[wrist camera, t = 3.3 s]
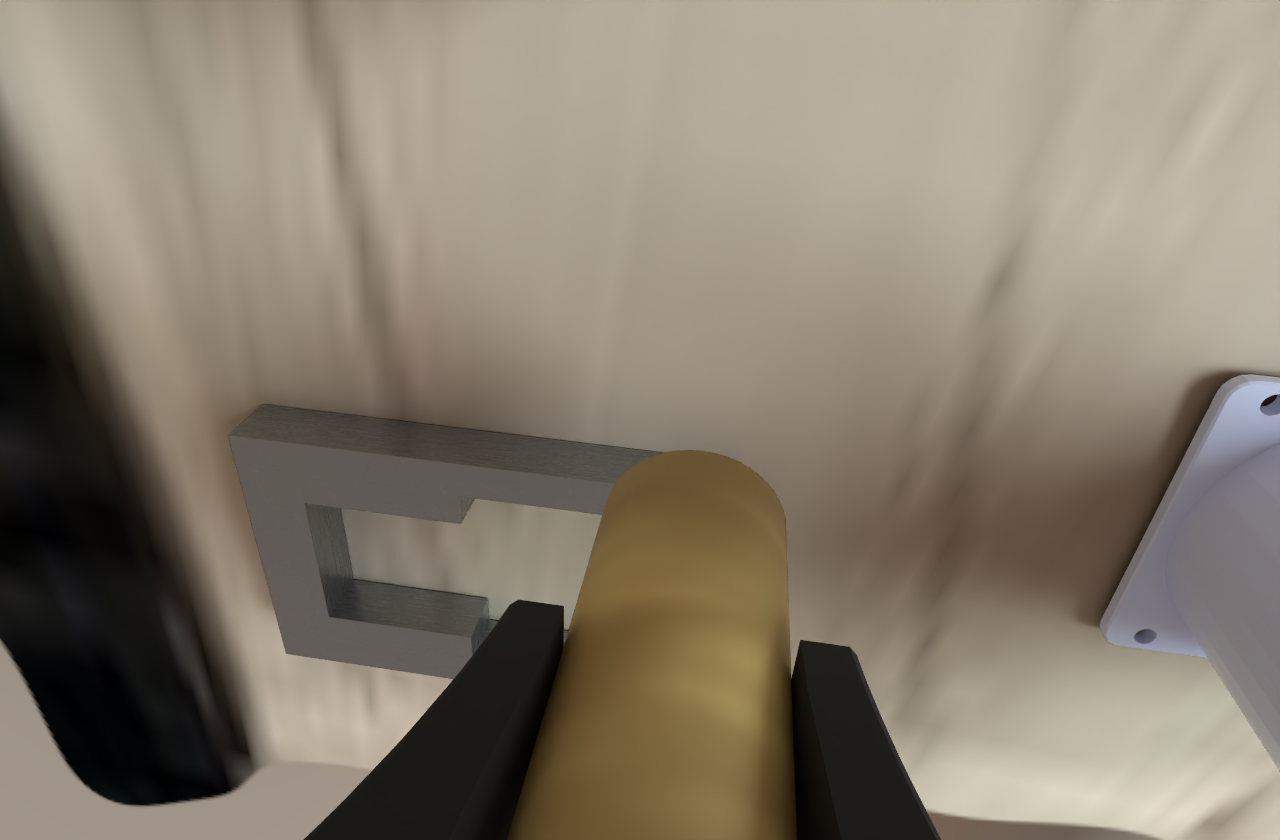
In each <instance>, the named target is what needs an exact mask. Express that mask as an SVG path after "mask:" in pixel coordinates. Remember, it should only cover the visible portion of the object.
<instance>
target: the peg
mask: <svg viewBox="0 0 1280 840" xmlns="http://www.w3.org/2000/svg"><path fill="white" fill-rule="evenodd" d="M507 840H797V824H796V796H795V768H794V743H793V714H792V686H791V654H790V625H789V597H788V569H787V540H786V519H785V515H784V511H783V508H782V505H781V503H780V500H779V499H778V497H777V495H776V494H775V492H774V490H773V489H772V488H771V487H770V486H769V484H768V483H767V482H766V481H765V480H764V479H763V478H762V477H761V476H760V475H759V474H757V473H756V472H754V471H753V470H752V469H750V468H749V467H747V466H745V465H744V464H742V463H740V462H738V461H736V460H733V459H731V458H729V457H726V456H723V455H719V454H716V453H711V452H705V451H695V450H682V451H672V452H666V453H662V454H658V455H655V456H652V457H650V458H647V459H645V460H643V461H641V462H639V463H637V464H636V465H634V466H632V467H631V468H630V469H629V470H627V471H626V472H625V473H624V474H623V475H622V476H621V477H620V478H619V479H618V480H617V482H616V483H615V485H614V486H613V487H612V489H611V491H610V493H609V495H608V498H607V501H606V505H605V508H604V512H603V515H602V518H601V522H600V525H599V529H598V532H597V535H596V539H595V542H594V546H593V549H592V552H591V556H590V559H589V563H588V566H587V569H586V573H585V576H584V580H583V583H582V586H581V590H580V593H579V597H578V600H577V603H576V607H575V610H574V614H573V617H572V620H571V624H570V627H569V630H568V634H567V637H566V641H565V644H564V647H563V651H562V654H561V658H560V661H559V664H558V668H557V671H556V675H555V678H554V681H553V685H552V688H551V692H550V695H549V698H548V702H547V705H546V709H545V712H544V715H543V719H542V722H541V726H540V729H539V732H538V736H537V739H536V743H535V746H534V749H533V753H532V756H531V760H530V763H529V766H528V770H527V773H526V777H525V780H524V783H523V787H522V790H521V794H520V797H519V800H518V804H517V807H516V810H515V814H514V817H513V821H512V824H511V827H510V831H509V834H508V838H507Z"/></svg>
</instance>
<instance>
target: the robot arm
mask: <svg viewBox="0 0 1280 840" xmlns="http://www.w3.org/2000/svg"><path fill="white" fill-rule="evenodd" d="M1277 394H1278V396H1277V398H1276V399H1275V400H1274V402H1273V403H1271V404H1269V405H1267V406H1261V403H1262V402H1263V401H1264V400H1265V399H1266V398H1268V397H1270V396H1272V395H1277ZM1260 406H1261V407H1260ZM1099 627H1100V629H1101V632H1102V634H1103V636H1104V638H1105V640H1106V641H1108V642H1109V643H1110V644H1113V645H1117V646H1123V647H1131V648H1138V649H1145V650H1153V651H1160V652H1167V653H1175V654H1182V655H1189V656H1197V657H1204V658H1208V659H1209V661H1210V662H1211V664H1212V666H1213V667H1214V669H1215V670H1216V672H1217V673H1218V675H1219V677H1220V678H1221V680H1222V681H1223V683H1224V684H1225V686H1226V688H1227V689H1228V691H1229V692H1230V694H1231V695H1232V697H1233V699H1234V700H1235V702H1236V703H1237V705H1238V706H1239V708H1240V710H1241V711H1242V713H1243V714H1244V716H1245V717H1246V719H1247V721H1248V722H1249V724H1250V725H1251V727H1252V729H1253V730H1254V732H1255V733H1256V735H1257V736H1258V738H1259V740H1260V741H1261V743H1262V744H1263V746H1264V747H1265V749H1266V751H1267V752H1268V754H1269V755H1270V757H1271V758H1272V760H1273V762H1274V763H1275V765H1276V766H1277V768H1278V769H1279V771H1280V377H1272V376H1262V375H1253V374H1250V375H1240V376H1237V377H1234V378H1231V379H1230V380H1228V381H1227V382H1226V383H1224V384H1223V385H1222V386H1221V387H1220V389H1219V390H1218V391H1217V393H1216V395H1215V397H1214V399H1213V400H1212V402H1211V404H1210V406H1209V408H1208V410H1207V412H1206V414H1205V416H1204V418H1203V420H1202V422H1201V424H1200V426H1199V428H1198V430H1197V432H1196V434H1195V436H1194V438H1193V440H1192V442H1191V444H1190V446H1189V448H1188V450H1187V452H1186V454H1185V456H1184V458H1183V460H1182V462H1181V464H1180V466H1179V467H1178V469H1177V471H1176V473H1175V475H1174V477H1173V479H1172V481H1171V483H1170V485H1169V487H1168V489H1167V491H1166V493H1165V495H1164V497H1163V499H1162V501H1161V503H1160V505H1159V507H1158V509H1157V511H1156V513H1155V515H1154V517H1153V519H1152V521H1151V523H1150V525H1149V527H1148V529H1147V531H1146V533H1145V535H1144V536H1143V538H1142V540H1141V542H1140V544H1139V546H1138V548H1137V550H1136V552H1135V554H1134V556H1133V558H1132V560H1131V562H1130V564H1129V566H1128V568H1127V570H1126V572H1125V574H1124V576H1123V578H1122V580H1121V582H1120V584H1119V586H1118V588H1117V590H1116V592H1115V594H1114V596H1113V598H1112V600H1111V602H1110V603H1109V605H1108V607H1107V609H1106V611H1105V613H1104V615H1103V617H1102V619H1101V621H1100V626H1099ZM1143 629H1147V630H1145V631H1143V632H1138V631H1141V630H1143ZM563 647H564V606H559V605H552V604H545V603H538V602H531V601H524V600H517V601H515V602H514V603H512V604H511V605H509V607H508V608H507V610H506V611H505V613H504V614H503V616H502V617H501V618H500V620H499V621H498V623H497V624H496V625H495V627H494V628H493V629H492V631H491V632H490V633H489V635H488V636H487V637H486V639H485V640H484V641H483V643H482V644H481V645H480V647H479V648H478V649H477V651H476V652H475V653H474V654H473V656H472V657H471V658H470V659H469V661H468V662H467V663H466V664H465V666H464V667H463V668H462V669H461V671H460V672H459V673H458V674H457V676H456V677H455V678H454V679H453V681H452V682H451V683H450V684H449V685H448V687H447V688H446V689H445V690H444V691H443V692H442V694H441V695H440V696H439V697H438V698H437V699H436V701H435V702H434V703H433V704H432V705H431V706H430V708H429V709H428V710H427V711H426V712H425V713H424V715H423V716H422V717H421V718H420V719H419V720H418V722H417V723H416V724H415V725H414V726H413V727H412V729H411V730H410V731H409V732H408V733H407V734H406V735H405V736H404V737H403V739H402V740H401V741H400V742H399V743H398V744H397V745H396V746H395V747H394V748H393V749H392V750H391V752H390V753H389V754H388V755H387V756H386V757H385V758H384V759H383V760H382V761H381V762H380V763H379V764H378V765H377V766H376V767H375V768H374V769H373V770H372V772H371V773H370V774H369V775H368V776H367V777H366V778H365V779H364V780H363V781H362V782H361V783H360V784H359V785H358V786H357V787H356V788H355V790H354V791H353V792H352V793H351V794H350V795H349V796H348V797H347V798H346V799H345V800H344V801H343V802H342V803H341V804H340V805H339V806H338V807H337V808H336V809H335V810H334V811H333V812H332V813H331V814H330V815H329V816H328V817H327V818H326V819H325V820H324V821H323V822H322V823H321V824H319V825H318V826H317V827H316V828H315V829H314V830H313V831H312V832H311V833H310V834H309V835H308V836H307V837H306V838H305V839H304V840H507V838H508V834H509V831H510V827H511V824H512V821H513V817H514V814H515V810H516V807H517V804H518V800H519V797H520V794H521V790H522V787H523V783H524V780H525V777H526V773H527V770H528V766H529V763H530V760H531V756H532V753H533V749H534V746H535V743H536V739H537V736H538V732H539V729H540V726H541V722H542V719H543V715H544V712H545V709H546V705H547V702H548V698H549V695H550V692H551V688H552V685H553V681H554V678H555V675H556V671H557V668H558V664H559V661H560V658H561V654H562V651H563ZM791 686H792V714H793V743H794V768H795V796H796V824H797V840H941V838H940V837H939V835H938V833H937V831H936V829H935V827H934V825H933V823H932V821H931V819H930V817H929V815H928V813H927V811H926V809H925V807H924V805H923V803H922V801H921V799H920V797H919V796H918V794H917V792H916V790H915V788H914V786H913V784H912V782H911V780H910V778H909V776H908V774H907V772H906V770H905V767H904V765H903V763H902V761H901V759H900V757H899V755H898V753H897V751H896V748H895V746H894V744H893V742H892V740H891V737H890V735H889V733H888V731H887V729H886V726H885V724H884V722H883V720H882V717H881V715H880V713H879V710H878V708H877V706H876V703H875V701H874V699H873V696H872V694H871V691H870V689H869V686H868V684H867V681H866V679H865V676H864V674H863V671H862V668H861V666H860V663H859V660H858V657H857V655H856V654H855V653H854V651H853V650H852V649H851V648H850V647H846V646H839V645H832V644H825V643H818V642H811V641H804V640H800V644H799V648H798V653H797V657H796V661H795V666H794V670H793V675H792V679H791Z"/></svg>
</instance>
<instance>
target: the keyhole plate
mask: <svg viewBox="0 0 1280 840" xmlns="http://www.w3.org/2000/svg"><path fill="white" fill-rule="evenodd" d="M228 438H229V441H230V445H231V449H232V453H233V456H234V460H235V464H236V468H237V471H238V475H239V479H240V483H241V486H242V490H243V494H244V498H245V501H246V505H247V509H248V513H249V516H250V520H251V524H252V528H253V531H254V535H255V539H256V543H257V546H258V550H259V554H260V557H261V561H262V565H263V569H264V572H265V576H266V580H267V584H268V587H269V591H270V595H271V599H272V602H273V606H274V610H275V614H276V617H277V621H278V625H279V629H280V632H281V636H282V640H283V644H284V647H285V651H286V654H292V655H298V656H305V657H312V658H318V659H325V660H331V661H338V662H345V663H351V664H358V665H364V666H371V667H378V668H384V669H391V670H397V671H404V672H411V673H417V674H424V675H430V676H437V677H444V678H450V679H454V678H455V677H456V676H457V674H458V673H459V672H460V671H461V669H462V668H463V667H464V666H465V664H466V663H467V662H468V661H469V659H470V658H471V657H472V656H473V654H474V653H475V652H476V651H477V649H478V648H479V647H480V645H481V644H482V643H483V641H484V640H485V639H486V637H487V636H488V635H489V633H490V632H491V631H492V629H493V628H494V627H495V625H496V624H497V623H498V621H495V620H489V608H488V599H487V598H480V597H473V596H466V595H459V594H452V593H445V592H438V591H430V590H423V589H416V588H409V587H402V586H395V585H388V584H381V583H374V582H367V581H360V580H354V578H353V573H352V568H351V563H350V557H349V552H348V547H347V541H346V536H345V531H344V525H343V520H342V515H341V509H340V508H345V509H353V510H360V511H368V512H375V513H383V514H391V515H398V516H406V517H413V518H421V519H428V520H436V521H443V522H451V523H458V524H461V523H462V521H463V519H464V517H465V516H466V514H467V512H468V510H469V508H470V506H471V504H472V503H473V501H474V499H475V498H477V499H485V500H492V501H500V502H508V503H515V504H523V505H531V506H539V507H546V508H554V509H562V510H570V511H577V512H585V513H593V514H601V515H603V512H604V508H605V505H606V501H607V498H608V495H609V493H610V491H611V489H612V487H613V486H614V485H615V483H616V482H617V480H618V479H619V478H620V477H621V476H622V475H623V474H624V473H625V472H626V471H627V470H629V469H630V468H631V467H632V466H634V465H636V464H637V463H639V462H641V461H643V460H645V459H647V458H650V457H652V456H655V455H658V454H662V453H661V452H653V451H644V450H636V449H628V448H620V447H611V446H603V445H595V444H587V443H578V442H570V441H562V440H554V439H545V438H537V437H529V436H521V435H512V434H504V433H496V432H488V431H479V430H471V429H463V428H455V427H446V426H438V425H430V424H421V423H413V422H405V421H397V420H388V419H380V418H372V417H364V416H355V415H347V414H339V413H331V412H322V411H314V410H306V409H298V408H289V407H281V406H273V405H265V404H262V405H261V406H260V407H259V408H258V409H257V410H256V411H254V412H253V413H252V414H251V415H250V416H249V417H248V418H247V419H245V420H244V421H243V422H242V423H241V424H240V425H239V426H238V427H236V428H235V429H234V430H233V431H232V432H231V433H230V434H229V435H228ZM740 463H741V462H740ZM567 634H568V631H564V644H565V641H566V637H567Z"/></svg>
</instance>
